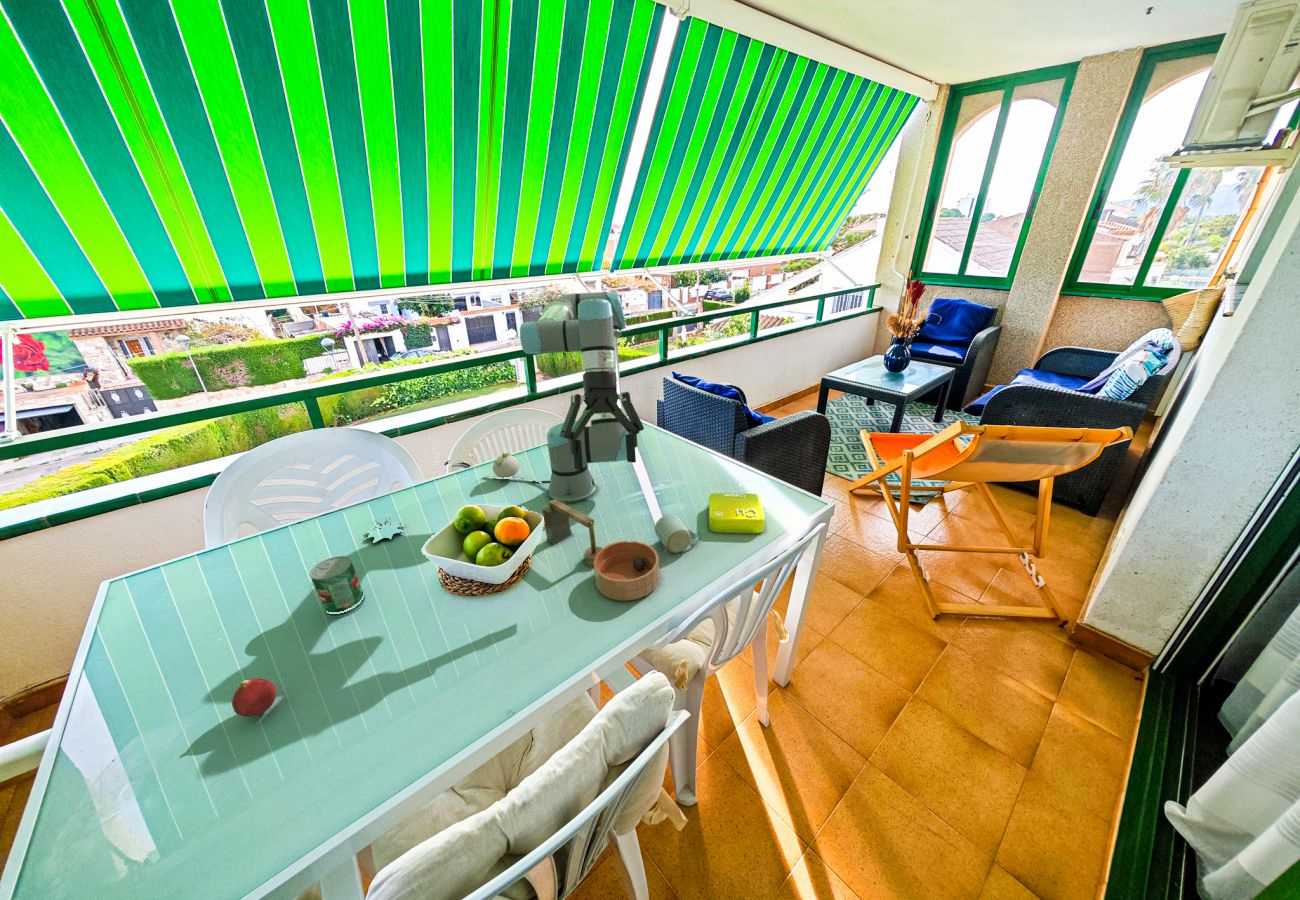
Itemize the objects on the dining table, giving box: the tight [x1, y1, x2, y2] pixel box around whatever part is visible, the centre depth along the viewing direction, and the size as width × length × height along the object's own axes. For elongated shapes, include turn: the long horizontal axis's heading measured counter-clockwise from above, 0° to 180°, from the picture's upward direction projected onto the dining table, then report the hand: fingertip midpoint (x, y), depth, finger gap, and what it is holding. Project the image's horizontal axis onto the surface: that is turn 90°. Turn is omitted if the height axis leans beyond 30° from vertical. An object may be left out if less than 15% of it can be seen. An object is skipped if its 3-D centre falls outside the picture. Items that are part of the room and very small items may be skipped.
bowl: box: [593, 540, 660, 602], centre depth 109 cm, size 15×15×6 cm
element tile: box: [708, 492, 766, 534], centre depth 132 cm, size 15×15×5 cm
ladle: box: [548, 499, 603, 567], centre depth 120 cm, size 18×5×12 cm, turn 47°
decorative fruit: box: [492, 452, 520, 478], centre depth 159 cm, size 9×8×10 cm
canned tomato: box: [309, 555, 366, 619], centre depth 104 cm, size 8×8×11 cm
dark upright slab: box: [542, 500, 572, 546], centre depth 125 cm, size 3×6×10 cm, turn 137°
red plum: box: [231, 677, 278, 718], centre depth 80 cm, size 6×6×8 cm
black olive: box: [633, 558, 645, 571], centre depth 112 cm, size 3×3×3 cm
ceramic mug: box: [654, 513, 699, 554], centre depth 121 cm, size 11×8×8 cm
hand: (606, 465), depth 104 cm, fingers open, 13 cm apart
